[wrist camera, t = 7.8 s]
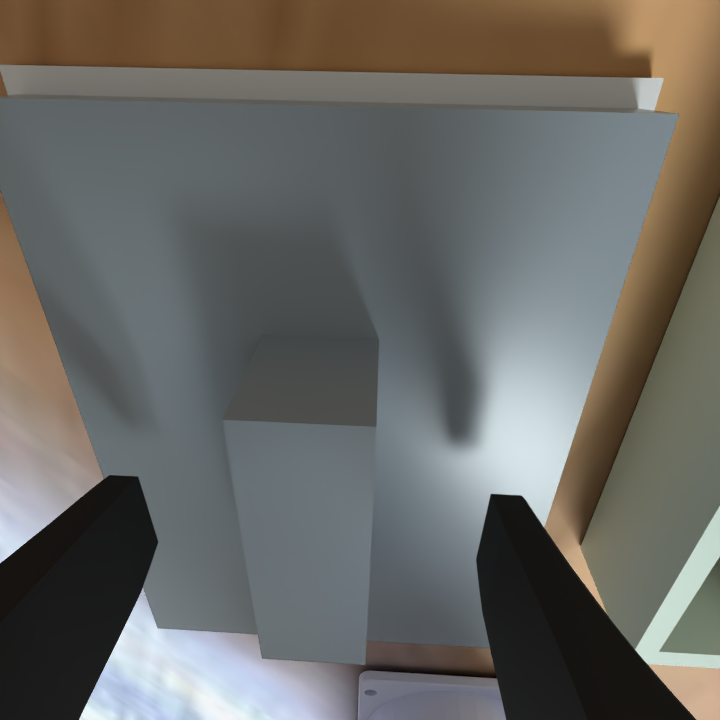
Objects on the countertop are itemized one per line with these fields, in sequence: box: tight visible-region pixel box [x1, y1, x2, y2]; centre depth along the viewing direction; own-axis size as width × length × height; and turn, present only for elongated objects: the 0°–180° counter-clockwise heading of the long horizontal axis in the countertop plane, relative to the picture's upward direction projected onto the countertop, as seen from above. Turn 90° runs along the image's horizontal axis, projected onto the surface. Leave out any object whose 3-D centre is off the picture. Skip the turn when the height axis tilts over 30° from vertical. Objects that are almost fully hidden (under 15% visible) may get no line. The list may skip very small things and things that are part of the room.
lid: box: [0, 94, 679, 665], centre depth 11 cm, size 15×11×4 cm
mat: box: [0, 65, 664, 111], centre depth 13 cm, size 16×12×1 cm
